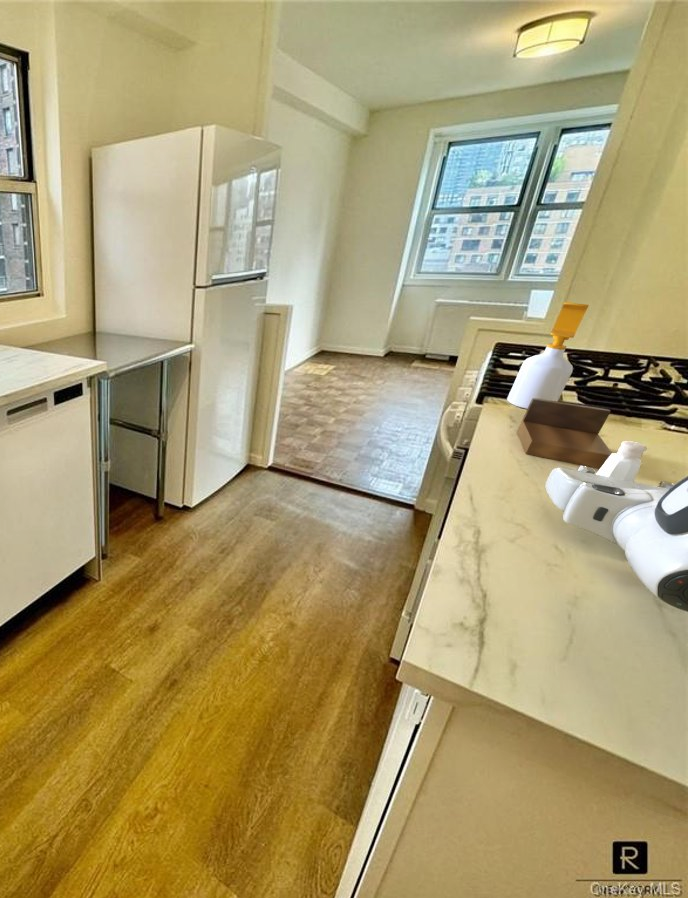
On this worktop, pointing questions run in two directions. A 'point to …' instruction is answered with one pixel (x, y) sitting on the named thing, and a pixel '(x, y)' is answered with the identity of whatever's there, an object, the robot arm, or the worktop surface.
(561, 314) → the soap bottle
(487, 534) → the worktop surface
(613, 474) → the pepper shaker
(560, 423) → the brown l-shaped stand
